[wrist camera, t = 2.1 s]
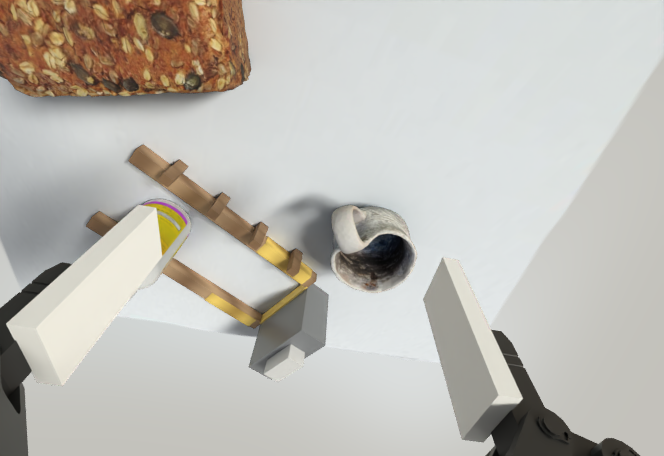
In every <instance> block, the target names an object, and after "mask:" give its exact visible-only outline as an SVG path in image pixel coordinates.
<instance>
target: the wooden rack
mask: <svg viewBox="0 0 664 456" xmlns="http://www.w3.org/2000/svg"><path fill="white" fill-rule="evenodd" d="M129 162H130V163H132V164H133V165H134V166H136V167H137V168H139V169H140V170H141V171H143V172H144V173H146V174H147V175H148V176H150V177H151V178H153V179H154V180H155V181H157V182H158V183H160V184H161V185H162V186H164V187H165V188H167V189H168V190H169V191H171V192H172V193H174V194H175V195H176V196H178V197H179V198H181V199H182V200H183V201H185V202H186V203H188V204H189V205H190V206H192V207H193V208H195V209H196V210H197V211H199V212H200V213H202V214H203V215H204V216H206V217H207V218H209V219H210V220H211V221H213V222H214V223H216V224H217V225H218V226H220V227H221V228H223V229H224V230H225V231H227V232H228V233H230V234H231V235H232V236H234V237H235V238H237V239H238V240H239V241H241V242H242V243H244V244H245V245H246V246H248V247H249V248H251V249H252V250H253V251H255V252H256V253H258V254H259V255H260V256H262V257H263V258H265V259H266V260H267V261H269V262H270V263H272V264H273V265H274V266H276V267H277V268H279V269H280V270H281V271H283V272H284V273H286V274H287V275H288V276H290V277H291V278H293V279H294V280H295V281H297V282H298V283H300V284H301V285H302V286H304V287H309V286H310V285H312V284H313V283H314V282H316V277H317V274H316V273H315V272H313V271H312V269H310V268H309V267H308V266H306V265H305V264H304V263H302V262H301V260H302V254H303V253H302V252H300V251H299V250H298V249H295V250H293V251H292V252H291V253H289V252H288V251H286V250H285V249H284V248H282V247H281V246H280V245H278V244H277V243H276V242H274V241H273V240H272V239H270V238H269V237H267V236H265V235H266V232H267V230H268V227H267V226H266V225H265V224H264V223H262V222H260V223H259V224H258V225H257V226H256V227H253V226H252V225H251V224H249V223H248V222H247V221H245V220H244V219H243V218H241V217H240V216H238V215H237V214H236V213H234V212H233V211H232V210H230V209H229V208H228V207H226V205H227V203H228V201H229V200H230V198H229V197H228V196H227V195H225V194H224V193H223V192H222V193H221V194H220V196H219V197H218V198H217V199H216V198H214V197H213V196H212V195H210V194H209V193H208V192H206V191H205V190H204V189H202V188H201V187H200V186H198V185H197V184H196V183H194V182H193V181H192V180H190V179H189V178H188V177H186V176H185V175H184V174H183V173H184V171H185V170H186V169H187V167H188V166H187V165H186V164H185V163H183V162H182V161H181V160H180V159H179V160H178V161H177V162H176V163H175V164H174V165H170V164H169V163H168V162H166V161H165V160H164V159H162V158H161V157H159V156H158V155H157V154H155V153H154V152H153V151H151V150H150V149H149V148H147V147H146V146H145V145H142V146H140V147H138V148H137V149H136V150H135V151H134V153H133V155H132V156H131V158H130V159H129ZM116 224H118V223H117V222H116V221H114V220H113V219H111V218H110V217H108V216H106V215H105V214H103V213H102V212H100V211H99V212H98V213H96V214H95V215H94V216H92V217H91V219H90V221H89V222H88V224H87V225H86V227H88V228H89V229H91V230H93V231H94V232H96V233H97V234H99V235H101V236H102V237H103V236H104V235H105V234H106V233H108V232H109V231H110V230H111V229H112V228H113V227H114V226H115V225H116ZM162 273H163V274H165V275H166V276H168V277H170V278H171V279H173V280H175V281H176V282H178V283H180V284H181V285H183V286H185V287H186V288H188V289H189V290H191V291H193V292H194V293H196V294H198V295H199V296H201V297H203V298H204V299H205V300H206V301H207V302H209V303H211V304H212V305H214V306H215V307H217V308H219V309H220V310H222V311H224V312H225V313H227V314H229V315H230V316H232V317H234V318H235V319H237V320H239V321H240V322H242V323H243V324H245V325H247V326H250V327H252V328H256V327H257V326H258V325H260V322H261V318H262V314H261V313H259V312H258V311H256V310H254V309H253V308H251V307H250V306H248V305H246V304H245V303H243V302H242V301H240V300H239V299H237V298H235V297H234V296H232V295H231V294H229V293H228V292H226V291H224V290H223V289H221V288H220V287H218V286H217V285H215V284H213V283H212V282H210V281H209V280H207V279H206V278H204V277H202V276H201V275H199V274H198V273H196V272H195V271H193V270H191V269H190V268H188V267H187V266H185V265H184V264H182V263H180V262H179V261H177V260H176V259H174V258H172V260H171V261H170V262H169V264H168V265H167V267H166V268H165V269H164V271H163V272H162Z"/></svg>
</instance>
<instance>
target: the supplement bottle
mask: <svg viewBox="0 0 664 456" xmlns="http://www.w3.org/2000/svg"><path fill="white" fill-rule="evenodd" d="M143 206H149V207H155V208H156V210H157V218H158V226H159V234H160V242H161V250H162V258H161V259H160V260H159V262H158V263H157V264H156V265H155V267H154V268H153V269H152V271H151V272H150V273H149V275H148V276H147V277H146V278H145V280H144V281H143V282H142V284H141V285H140V286H139V288H138V289H137V290H140V289H144V288H147V287H149V286H151V285H152V284H154V283H155V282H156V281H157V279H158V278H159V277H160V275H161V274H162V272H163V271H164V269H165V268H166V267H167V265H168V264H169V262H170V261H171V260H172V258H173V257H174V255H175V254H176V253H177V251H178V250H179V248H180V247H181V246H182V244H183V243H184V241H185V240H186V239H187V237H188V236H189V234H190V231H191V222H190V219H189V217H188V215H187V213H186V212H185V211H184V210H183V209H182V208H181V207H180V206H178V205H177V204H175V203H173V202H171V201H168V200H164V199H153V200H150V201H147V202H146V203H144V204H143ZM137 290H136V291H135V293H136V292H137ZM135 293H134V294H133V295H132V297H133V296H134V295H135ZM132 297H131V298H132ZM131 298H130V299H131ZM130 299H129V300H130ZM129 300H128V301H129Z"/></svg>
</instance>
